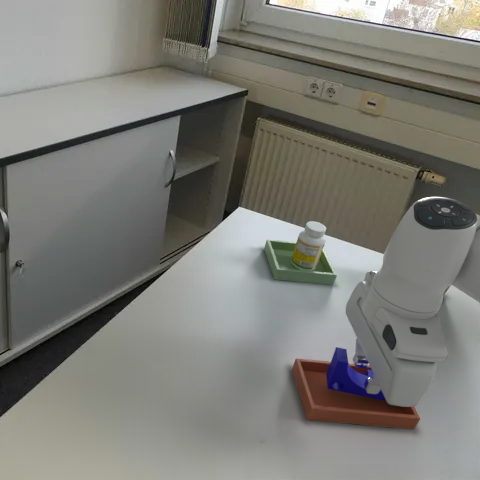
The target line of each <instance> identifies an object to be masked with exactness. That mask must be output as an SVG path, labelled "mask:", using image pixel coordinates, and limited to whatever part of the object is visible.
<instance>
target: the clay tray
mask: <svg viewBox="0 0 480 480" xmlns="http://www.w3.org/2000/svg"><path fill="white" fill-rule="evenodd" d="M330 363H331V360H329V361H328V360H318V359H306V358H295V359H294V362H293V365H292V367H291V371H292V374H293V377H294V381H295V384H296V387H297V391H298V394H299V397H300V401H301V404H302V407H303V410H304V414H305V417H306V421H307V420H308V421H319V422H330V423H341V424H350V425H351V424H352V425H361V426H363V425H364V426H371V427H372V426H374V427H384V428H394V429H395V428H396V429H405V430H415V429H416V427H417V425H418V424H419V422H420V421H421V417H420V415H419V413H418V411H417V409H416V406H413V407H402V406H395V405H390V404H388V403H387V401H383V400H379V399H374V398H369V397H365V396H360V395H355V394H350V393H346V392H341V391H336V390H332V389H328V388H327V377H326V374H327V371H328V369H329V366H330ZM348 364H349V366H350V367H351V368H352V369H354V370H355V371H356V372H358V373H360V374H363V375H365V374H366V372H367V369H369V370H372V369H371V367H370V365H369V364H368V366H367V367H366V368H361V367H360V368H357V367H356V366H355V363H351V362H348Z"/></svg>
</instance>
